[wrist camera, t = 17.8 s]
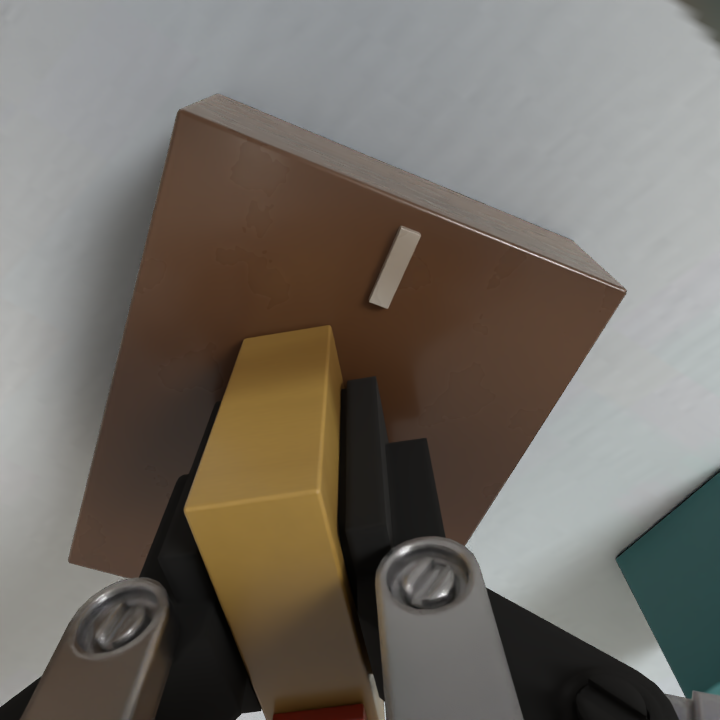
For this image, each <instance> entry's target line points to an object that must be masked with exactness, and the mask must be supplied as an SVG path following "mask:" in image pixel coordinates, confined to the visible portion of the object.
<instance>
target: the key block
mask: <svg viewBox="0 0 720 720" xmlns="http://www.w3.org/2000/svg"><path fill="white" fill-rule="evenodd" d="M616 561H617V563H618V565H619V567H620V569H621V571H622V573H623V575H624V577H625V579H626V581H627V583H628V585H629V587H630V589H631V591H632V593H633V595H634V597H635V599H636V601H637V603H638V605H639V607H640V609H641V610H642V612H643V614H644V616H645V618H646V620H647V622H648V624H649V626H650V628H651V630H652V632H653V634H654V636H655V638H656V640H657V642H658V644H659V646H660V648H661V650H662V652H663V654H664V656H665V658H666V660H667V662H668V664H669V666H670V667H671V669H672V671H673V673H674V675H675V677H676V679H677V681H678V683H679V685H680V687H681V689H682V691H683V693H684V695H685V697H686V698H689V699H692V692H693V690H694V691H699V692H704V693H709V694H714V695H719V696H720V472H719V473H718V474H717V475H715V476H714V477H713V478H712V479H711V480H709V481H708V482H707V483H706V484H705V485H703V486H702V487H701V488H700V489H699V490H697V491H696V492H695V493H694V494H693V495H691V496H690V497H689V498H688V499H687V500H685V501H684V502H683V503H682V504H681V505H680V506H678V507H677V508H676V509H675V510H674V511H672V512H671V513H670V514H669V515H668V516H666V517H665V518H664V519H663V520H662V521H660V522H659V523H658V524H657V525H656V526H654V527H653V528H652V529H651V530H650V531H648V532H647V533H646V534H645V535H644V536H642V537H641V538H640V539H639V540H638V541H637V542H635V543H634V544H633V545H632V546H631V547H629V548H628V549H627V550H626V551H625V552H623V553H622V554H621V555H620V556H619V557H617V559H616Z"/></svg>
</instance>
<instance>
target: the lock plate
mask: <svg viewBox="0 0 720 720" xmlns="http://www.w3.org/2000/svg"><path fill="white" fill-rule="evenodd" d="M626 292H627V290H626V289H625V288H624V287H623V286H622V285H621V284H620V283H619V282H617V281H616V280H615V279H614V278H613V277H612V276H611V275H610V274H609V273H608V272H606V271H605V270H604V269H603V268H602V267H601V266H600V265H599V264H598V263H597V262H595V261H594V260H593V259H592V258H591V257H590V256H589V255H588V254H587V253H585V252H584V251H583V250H582V249H581V248H580V247H579V246H578V245H577V244H576V243H574V242H573V241H572V240H570V239H568V238H565V237H563V236H560V235H558V234H556V233H553V232H551V231H548V230H546V229H543V228H541V227H539V226H536V225H534V224H531V223H529V222H527V221H524V220H522V219H519V218H517V217H515V216H512V215H510V214H507V213H505V212H502V211H500V210H498V209H495V208H493V207H490V206H488V205H486V204H483V203H481V202H478V201H476V200H474V199H471V198H469V197H466V196H464V195H461V194H459V193H457V192H454V191H452V190H449V189H447V188H445V187H442V186H440V185H437V184H435V183H432V182H430V181H428V180H425V179H423V178H420V177H418V176H416V175H413V174H411V173H408V172H406V171H404V170H401V169H399V168H396V167H394V166H391V165H389V164H387V163H384V162H382V161H379V160H377V159H375V158H372V157H370V156H367V155H365V154H363V153H360V152H358V151H355V150H353V149H350V148H348V147H346V146H343V145H341V144H338V143H336V142H334V141H331V140H329V139H326V138H324V137H322V136H319V135H317V134H314V133H312V132H309V131H307V130H305V129H302V128H300V127H297V126H295V125H293V124H290V123H288V122H285V121H283V120H281V119H278V118H276V117H273V116H271V115H268V114H266V113H264V112H261V111H259V110H256V109H254V108H252V107H249V106H247V105H244V104H242V103H240V102H237V101H235V100H232V99H230V98H227V97H225V96H223V95H220V94H215V95H213V96H210V97H208V98H205V99H203V100H201V101H198V102H196V103H193V104H191V105H188V106H186V107H184V108H181V109H179V111H178V112H177V115H176V119H175V123H174V127H173V132H172V136H171V140H170V144H169V148H168V152H167V156H166V160H165V164H164V168H163V172H162V177H161V181H160V185H159V189H158V193H157V197H156V201H155V205H154V209H153V213H152V217H151V222H150V226H149V230H148V234H147V238H146V242H145V246H144V250H143V254H142V258H141V262H140V267H139V271H138V275H137V279H136V283H135V287H134V291H133V295H132V299H131V303H130V307H129V312H128V316H127V320H126V324H125V328H124V332H123V336H122V340H121V344H120V348H119V352H118V357H117V361H116V365H115V369H114V373H113V377H112V381H111V385H110V389H109V393H108V398H107V402H106V406H105V410H104V414H103V418H102V422H101V426H100V430H99V434H98V438H97V443H96V447H95V451H94V455H93V459H92V463H91V467H90V471H89V475H88V479H87V483H86V488H85V492H84V496H83V500H82V504H81V508H80V512H79V516H78V520H77V524H76V528H75V533H74V537H73V541H72V545H71V549H70V553H69V557H68V562H69V563H71V564H75V565H79V566H83V567H87V568H91V569H95V570H98V571H102V572H106V573H110V574H114V575H118V576H122V577H126V578H139V576H140V573H141V571H142V568H143V566H144V563H145V560H146V558H147V555H148V553H149V550H150V548H151V545H152V543H153V540H154V538H155V535H156V532H157V530H158V527H159V525H160V522H161V520H162V517H163V515H164V512H165V509H166V507H167V504H168V502H169V499H170V497H171V494H172V492H173V489H174V486H175V484H176V482H177V480H178V478H179V477H180V476H182V475H185V474H189V472H190V470H191V467H192V464H193V462H194V459H195V456H196V453H197V451H198V448H199V445H200V443H201V440H202V437H203V434H204V432H205V429H206V426H207V424H208V421H209V418H210V416H211V413H212V410H213V407H214V405H215V403H216V402H218V401H222V399H223V396H224V393H225V390H226V388H227V385H228V382H229V379H230V376H231V373H232V371H233V368H234V365H235V362H236V359H237V357H238V354H239V351H240V348H241V345H242V342H243V340H244V339H246V338H252V337H258V336H264V335H271V334H277V333H283V332H289V331H295V330H301V329H308V328H314V327H320V326H326V325H330V326H331V327H332V332H333V336H334V341H335V346H336V350H337V355H338V360H339V365H340V369H341V374H342V379H343V384H344V388H345V389H346V388H347V381H348V380H354V379H360V378H367V377H373V376H376V379H377V383H378V388H379V394H380V399H381V404H382V410H383V415H384V420H385V425H386V431H387V436H388V441H389V443H393V442H400V441H406V440H413V439H419V438H427V442H428V447H429V453H430V458H431V463H432V468H433V473H434V479H435V484H436V489H437V494H438V500H439V505H440V510H441V515H442V521H443V526H444V531H445V536H446V538H448V539H452V540H454V541H456V542H458V543H460V544H462V545H464V546H465V545H466V544H467V542H468V540H469V539H470V537H471V536H472V534H473V533H474V531H475V529H476V528H477V526H478V525H479V523H480V522H481V520H482V519H483V517H484V515H485V514H486V512H487V511H488V509H489V508H490V506H491V504H492V503H493V501H494V500H495V498H496V497H497V495H498V493H499V492H500V490H501V489H502V487H503V486H504V484H505V483H506V481H507V479H508V478H509V476H510V475H511V473H512V472H513V470H514V468H515V467H516V465H517V464H518V462H519V461H520V459H521V457H522V456H523V454H524V453H525V451H526V450H527V448H528V447H529V445H530V443H531V442H532V440H533V439H534V437H535V436H536V434H537V432H538V431H539V429H540V428H541V426H542V425H543V423H544V421H545V420H546V418H547V417H548V415H549V414H550V412H551V411H552V409H553V407H554V406H555V404H556V403H557V401H558V400H559V398H560V396H561V395H562V393H563V392H564V390H565V389H566V387H567V386H568V384H569V382H570V381H571V379H572V378H573V376H574V375H575V373H576V371H577V370H578V368H579V367H580V365H581V364H582V362H583V360H584V359H585V357H586V356H587V354H588V353H589V351H590V350H591V348H592V346H593V345H594V343H595V342H596V340H597V339H598V337H599V335H600V334H601V332H602V331H603V329H604V328H605V326H606V324H607V323H608V321H609V320H610V318H611V317H612V315H613V314H614V312H615V310H616V309H617V307H618V306H619V304H620V303H621V301H622V299H623V298H624V296H625V295H626Z"/></svg>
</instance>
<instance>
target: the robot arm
mask: <svg viewBox="0 0 720 720" xmlns="http://www.w3.org/2000/svg"><path fill="white" fill-rule="evenodd" d="M221 402H222V401H218V402H216V403H215V405H214V407H213V410H212V413H211V416H210V418H209V421H208V424H207V426H206V429H205V432H204V434H203V437H202V440H201V443H200V445H199V448H198V451H197V453H196V456H195V459H194V462H193V464H192V467H191V470H190V472H189V474H185V475H182V476H180V477H179V478H178V480H177V482H176V484H175V486H174V489H173V492H172V494H171V497H170V499H169V502H168V504H167V507H166V509H165V512H164V515H163V517H162V520H161V522H160V525H159V527H158V530H157V532H156V535H155V538H154V540H153V543H152V545H151V548H150V550H149V553H148V555H147V558H146V560H145V563H144V566H143V568H142V571H141V573H140V576H139V578H130V579H126V580H122V581H119V582H117V583H114V584H112V585H110V586H108V587H106V588H104V589H102V590H101V591H99V592H98V593H97V594H95V595H94V596H92V597H91V598H90V599H89V600H88V601H87V602H86V603H85V604H84V605H82V606H81V607H80V608H79V609H78V611H77V612H76V614H75V615H74V617H73V618H72V620H71V621H70V623H69V624H68V626H67V628H66V630H65V632H64V634H63V636H62V638H61V640H60V642H59V644H58V646H57V648H56V650H55V652H54V654H53V656H52V658H51V660H50V662H49V664H48V665H47V667H46V669H45V671H44V673H43V675H42V676H41V677H40V678H39V679H37V680H36V681H35V682H33V683H32V684H31V685H29V686H28V687H27V688H25V689H24V690H23V691H21V692H20V693H19V694H17V695H16V696H15V697H13V698H12V699H11V700H9V701H8V702H7V703H5V704H4V705H3V706H1V707H0V720H236V719H237V718H238V717H239V716H240V715H241V713H249V712H257V711H261V705H260V703H259V700H258V698H257V695H256V693H255V690H254V688H253V685H252V683H251V680H250V678H249V675H248V673H247V670H246V668H245V665H244V663H243V660H242V657H241V655H240V652H239V650H238V647H237V645H236V642H235V640H234V637H233V635H232V632H231V630H230V627H229V625H228V622H227V620H226V617H225V615H224V612H223V610H222V607H221V605H220V602H219V600H218V597H217V594H216V592H215V589H214V587H213V584H212V582H211V579H210V577H209V574H208V572H207V569H206V567H205V564H204V562H203V559H202V557H201V554H200V552H199V549H198V547H197V544H196V542H195V539H194V536H193V534H192V531H191V529H190V526H189V524H188V521H187V519H186V516H185V514H184V506H185V503H186V501H187V498H188V495H189V492H190V489H191V486H192V484H193V481H194V478H195V475H196V472H197V470H198V467H199V464H200V461H201V458H202V455H203V453H204V450H205V447H206V444H207V441H208V438H209V436H210V433H211V430H212V427H213V424H214V422H215V419H216V416H217V413H218V410H219V407H220V405H221ZM338 530H339V538H340V545H341V549H342V554H343V558H344V562H345V566H346V570H347V574H348V578H349V582H350V586H351V590H352V594H353V598H354V602H355V606H356V610H357V614H358V618H359V622H360V626H361V630H362V634H363V638H364V642H365V646H366V650H367V654H368V658H369V662H370V666H371V670H372V673H373V676H374V679H375V683H376V687H377V691H378V695H379V698H381V699H382V700H383V701H384V702H385V708H386V720H720V696H719V695H714V694H709V693H704V692H699V691H694V690H693V692H692V699H689V698H684V697H679V696H674V695H669V694H664V693H663V692H662V691H661V689H660V688H659V687H658V686H657V685H656V684H655V683H654V682H652V681H651V680H649V679H648V678H647V677H645V676H644V675H642V674H641V673H640V672H638V671H637V670H635V669H633V668H631V667H629V666H628V665H626V664H624V663H622V662H620V661H618V660H617V659H615V658H613V657H611V656H609V655H608V654H606V653H604V652H602V651H600V650H599V649H597V648H595V647H593V646H591V645H589V644H588V643H586V642H584V641H582V640H580V639H579V638H577V637H575V636H573V635H571V634H569V633H568V632H566V631H564V630H562V629H560V628H559V627H557V626H555V625H553V624H551V623H550V622H548V621H546V620H544V619H542V618H540V617H539V616H537V615H535V614H533V613H531V612H530V611H528V610H526V609H524V608H522V607H521V606H519V605H517V604H515V603H513V602H511V601H510V600H508V599H506V598H504V597H502V596H501V595H499V594H497V593H495V592H493V591H491V590H490V589H488V588H486V587H485V583H484V580H483V576H482V573H481V569H480V566H479V564H478V562H477V560H476V558H475V556H474V554H473V553H472V552H470V551H469V550H468V549H467V548H466V547H465V546H464V545H462V544H460V543H458V542H456V541H454V540H452V539H448V538H446V536H445V531H444V526H443V521H442V515H441V510H440V505H439V500H438V494H437V489H436V484H435V479H434V473H433V468H432V463H431V458H430V453H429V447H428V442H427V438H419V439H413V440H406V441H400V442H393V443H389V441H388V436H387V431H386V425H385V420H384V415H383V410H382V404H381V399H380V394H379V388H378V383H377V379H376V376H373V377H367V378H360V379H354V380H348V381H347V388H346V389H341V414H340V454H339V493H338Z"/></svg>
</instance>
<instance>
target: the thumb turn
mask: <svg viewBox="0 0 720 720" xmlns="http://www.w3.org/2000/svg"><path fill="white" fill-rule="evenodd" d="M341 389H345V388H344V384H343V379H342V374H341V369H340V365H339V360H338V355H337V350H336V346H335V341H334V336H333V332H332V327H331V326H330V325H326V326H320V327H314V328H308V329H301V330H295V331H289V332H283V333H277V334H271V335H264V336H258V337H252V338H246V339H244V340H243V342H242V345H241V348H240V351H239V354H238V357H237V359H236V362H235V365H234V368H233V371H232V373H231V376H230V379H229V382H228V385H227V388H226V390H225V393H224V396H223V399H222V402H221V405H220V407H219V410H218V413H217V416H216V419H215V422H214V424H213V427H212V430H211V433H210V436H209V438H208V441H207V444H206V447H205V450H204V453H203V455H202V458H201V461H200V464H199V467H198V470H197V472H196V475H195V478H194V481H193V484H192V486H191V489H190V492H189V495H188V498H187V501H186V503H185V506H184V514H185V516H186V519H187V521H188V524H189V526H190V529H191V531H192V534H193V536H194V539H195V542H196V544H197V547H198V549H199V552H200V554H201V557H202V559H203V562H204V564H205V567H206V569H207V572H208V574H209V577H210V579H211V582H212V584H213V587H214V589H215V592H216V594H217V597H218V600H219V602H220V605H221V607H222V610H223V612H224V615H225V617H226V620H227V622H228V625H229V627H230V630H231V632H232V635H233V637H234V640H235V642H236V645H237V647H238V650H239V652H240V655H241V657H242V660H243V663H244V665H245V668H246V670H247V673H248V675H249V678H250V680H251V683H252V685H253V688H254V690H255V693H256V695H257V698H258V700H259V703H260V705H261V708H262V710H263V713H264V715H265V718H266V720H385V716H384V701H383V700H382V699H381V698H379V695H378V691H377V687H376V683H375V679H374V676H373V673H372V670H371V666H370V662H369V658H368V654H367V650H366V646H365V642H364V638H363V634H362V630H361V626H360V622H359V618H358V614H357V610H356V606H355V602H354V598H353V594H352V590H351V586H350V582H349V578H348V574H347V570H346V566H345V562H344V558H343V554H342V549H341V545H340V538H339V530H338V493H339V454H340V414H341Z"/></svg>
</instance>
